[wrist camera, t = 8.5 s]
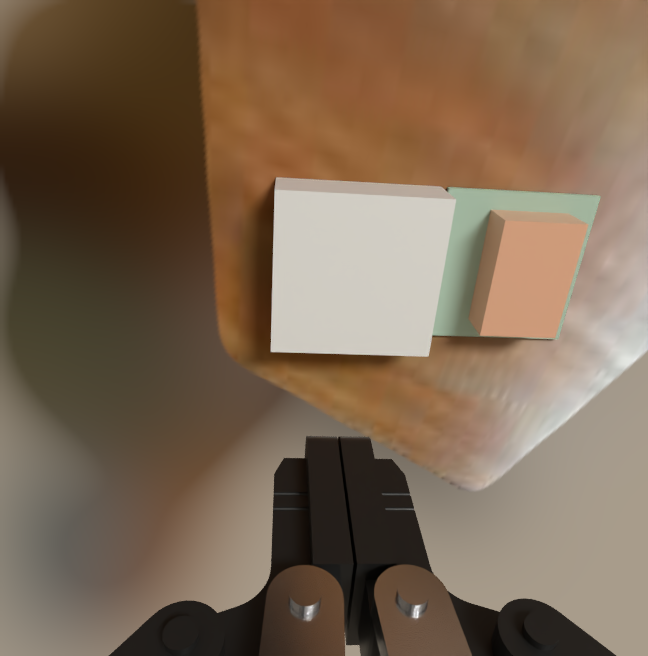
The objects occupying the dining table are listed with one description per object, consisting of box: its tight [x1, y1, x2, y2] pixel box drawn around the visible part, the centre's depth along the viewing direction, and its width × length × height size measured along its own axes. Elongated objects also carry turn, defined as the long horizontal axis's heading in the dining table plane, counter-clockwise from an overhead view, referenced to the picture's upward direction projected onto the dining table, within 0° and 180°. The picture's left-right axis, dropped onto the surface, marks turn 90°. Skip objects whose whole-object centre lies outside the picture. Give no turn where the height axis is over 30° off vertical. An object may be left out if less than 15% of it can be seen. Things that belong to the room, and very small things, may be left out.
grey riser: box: [271, 177, 456, 357], centre depth 39 cm, size 12×12×4 cm
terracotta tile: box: [468, 210, 588, 338], centre depth 40 cm, size 9×6×3 cm, turn 176°
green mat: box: [432, 187, 601, 339], centre depth 42 cm, size 12×12×1 cm
